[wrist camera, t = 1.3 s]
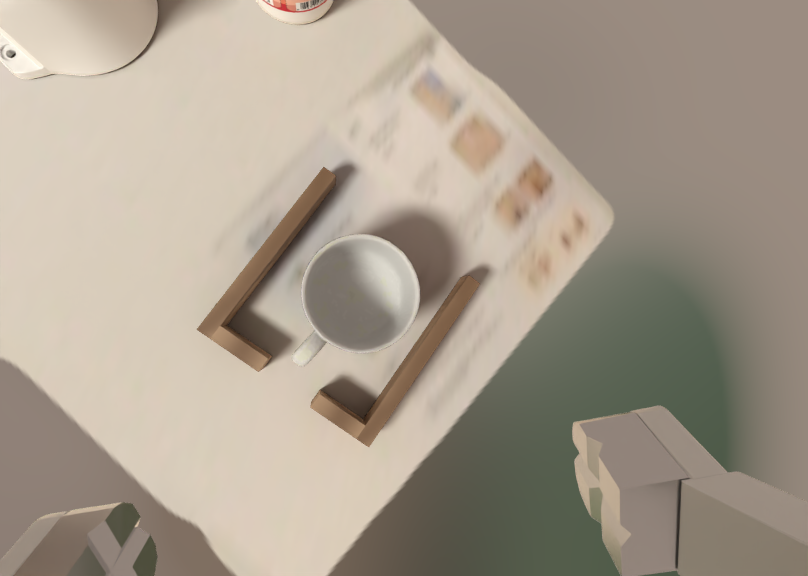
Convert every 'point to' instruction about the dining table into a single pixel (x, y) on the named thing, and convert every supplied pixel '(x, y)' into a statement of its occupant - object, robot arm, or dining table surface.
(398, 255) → the teacup
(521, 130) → the dining table surface
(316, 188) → the wooden l-brackets
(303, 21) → the fruit juice
